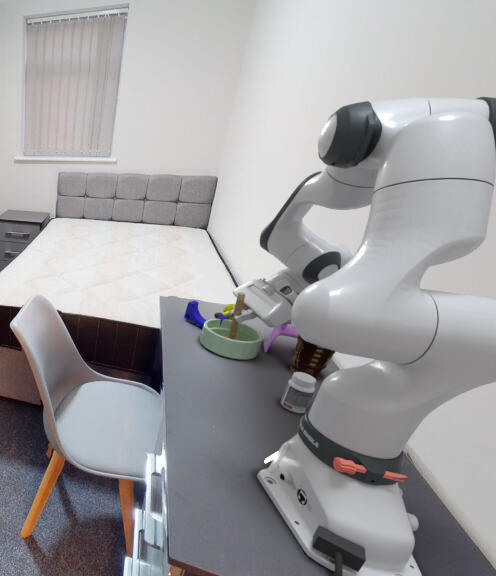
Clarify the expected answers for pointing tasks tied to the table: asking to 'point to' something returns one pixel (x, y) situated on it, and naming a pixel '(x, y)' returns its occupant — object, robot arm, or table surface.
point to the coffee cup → (310, 358)
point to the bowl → (228, 347)
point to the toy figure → (226, 311)
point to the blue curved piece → (197, 314)
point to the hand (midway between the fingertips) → (233, 317)
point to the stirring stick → (236, 311)
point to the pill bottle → (298, 392)
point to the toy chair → (280, 333)
